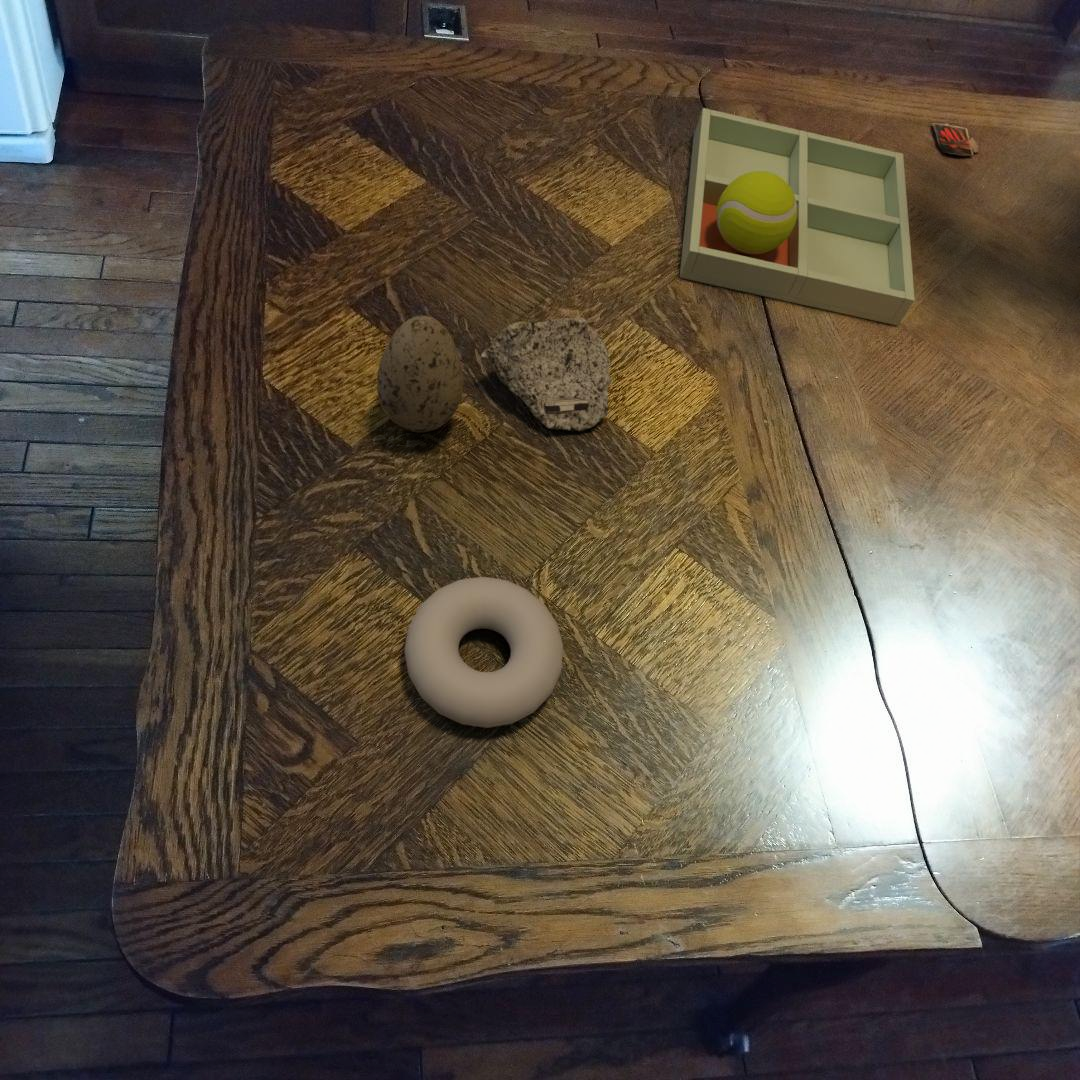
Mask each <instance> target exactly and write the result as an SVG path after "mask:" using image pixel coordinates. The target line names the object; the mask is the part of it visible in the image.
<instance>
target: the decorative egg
mask: <svg viewBox="0 0 1080 1080" xmlns="http://www.w3.org/2000/svg"><path fill="white" fill-rule="evenodd" d="M463 372H464V371H463V367H462V361H461V358H460V354H459V351H458V349H457V346H456V343H455V341H454V339H453V338H452V336H451V334H450V333H449V331H448V330H447V328H446V327H445V326H444V325H443V323H441V322H440V321H439V320H438V319H436V318H434V317H431V316H429V315H416V316H413V317H411V318H409V319H407V320H406V321H404V322H403V323H402V324H401V325H400V326H399V327H398V328H397V329H396V330H395V331H394V333H393V334H392V336H391V337H390V339H389V341H388V342H387V344H386V346H385V348H384V351H383V354H382V356H381V359H380V361H379V366H378V369H377V378H376V388H377V396H378V400H379V403H380V405H381V407H382V410H383V412H384V413H385V414H386V417H388V418H389V420H391V421H392V422H393V423H394V424H395V425H396V426H398V427H399V428H401V429H403V430H405V431H409V432H413V433H427V432H432V431H434V430H437V429H439V428H441V427H442V426H444V425H445V424H446V423H447V422H448V421H450V420H451V419H452V417H453V416H454V415H455V413H456V412H457V410H458V408H459V405H460V403H461V400H462V396H463V388H464V373H463Z"/></svg>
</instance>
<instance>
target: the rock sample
mask: <svg viewBox="0 0 1080 1080" xmlns="http://www.w3.org/2000/svg"><path fill="white" fill-rule="evenodd" d="M524 315H526V316H527V313H524ZM486 344H490V346H489V347H488V348H485V349H484V351H483V352H482V353H481V355H480V356H481V357H482V358H484V359H485V358H486V359H488V361H489V362H490V365H492V367H493V369H494V372H495V374H496V376H497V377H498V379H499V381H500V382H501V383H503V384H504V385H505V386H506V387H507V388H508V390H509V391H511V392H512V393H513V394H514V395H515V396H517V397H519V398H520V399H521V401H522V402H523V403H524V404H525V405H526V407H527V409H528V411H529V412H530V413H531V414H532V415H533V416H534V417H535V418H536V419H538V420H539V421H540V422H541V423H542V425H543V426H545V428H547V429H552V430H563V431H568V432H569V431H577V432H584V431H586V430H587V429H591V428H594V427H595V426H596V425H597V424H598V423H599V422H602V420H604V419H605V418H606V416H607V413H608V410H609V393H608V389H609V387H610V385H611V383H612V382H613V380H612V377H611V374H610V373H609V369H610V368H611V363H612V361H611V360H610V359H611V358H612V357H611V356H609V354H611V353H612V351H610V352H609V349H608V347H607V346H606V345H605V341H604V340H603V338H602V337H601V336H600V335H599V333H598V331H597V330H596V328H595V327H593V326H590V325H589V324H588V323H587V320H586V318H585V317H576V316H574V317H557V318H548V319H547V320H544V321H540V320H539V321H538V322H537V321H536V322H535V321H528V320H524V321H522V320H520V321H516V322H513V323H511V324H509V325H508V326H506V327H505V328H502V329H501V331H500V332H499V333H498V334H497V335H495V337H494V338H493V339H491V340H489V342H487V343H486ZM484 359H482V360H484ZM490 365H488V366H489V367H491V366H490Z"/></svg>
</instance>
